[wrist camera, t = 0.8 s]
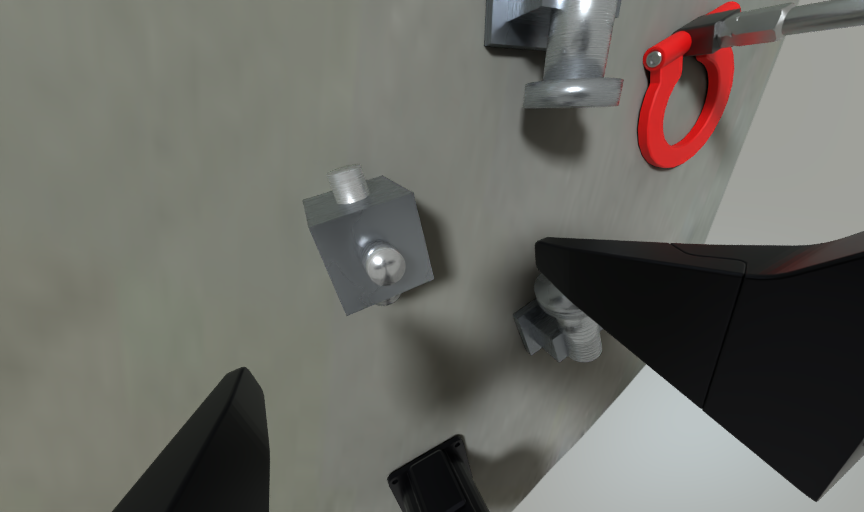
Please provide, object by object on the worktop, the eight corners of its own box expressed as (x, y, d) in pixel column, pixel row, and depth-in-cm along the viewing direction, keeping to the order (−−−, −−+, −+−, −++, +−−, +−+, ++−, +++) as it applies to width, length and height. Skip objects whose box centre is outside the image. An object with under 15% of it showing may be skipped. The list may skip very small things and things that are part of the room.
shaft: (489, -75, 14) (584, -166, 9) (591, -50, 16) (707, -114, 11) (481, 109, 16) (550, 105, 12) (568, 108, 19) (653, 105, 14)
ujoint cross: (407, 263, 18) (451, 314, 13) (340, 289, 17) (361, 355, 12) (375, 150, 15) (417, 165, 10) (291, 174, 14) (295, 202, 9)
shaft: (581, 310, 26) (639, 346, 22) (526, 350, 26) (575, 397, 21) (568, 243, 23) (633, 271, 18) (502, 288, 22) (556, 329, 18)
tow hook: (708, 133, 25) (724, -3, 20) (1015, 156, 15) (1212, -117, 10) (632, 185, 24) (629, 53, 19) (910, 250, 14) (1072, -7, 8)
